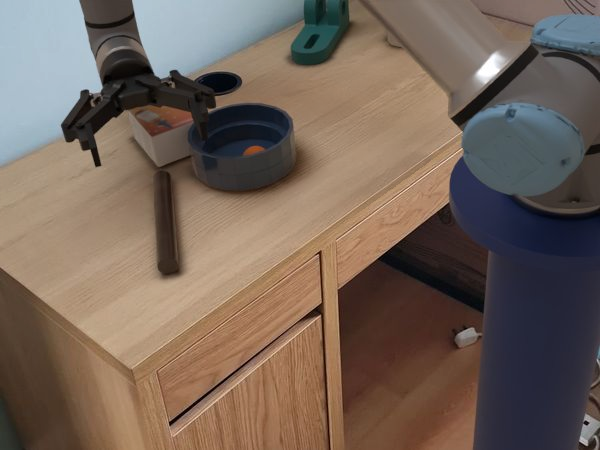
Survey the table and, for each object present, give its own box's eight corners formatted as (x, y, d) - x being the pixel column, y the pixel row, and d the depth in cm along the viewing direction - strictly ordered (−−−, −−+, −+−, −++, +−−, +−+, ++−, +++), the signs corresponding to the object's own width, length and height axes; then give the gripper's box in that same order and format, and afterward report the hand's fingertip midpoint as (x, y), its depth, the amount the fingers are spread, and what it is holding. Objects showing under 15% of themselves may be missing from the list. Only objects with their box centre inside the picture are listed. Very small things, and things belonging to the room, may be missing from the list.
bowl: (318, 161, 116) (315, 126, 112) (236, 207, 108) (230, 171, 105) (253, 126, 125) (249, 92, 121) (174, 166, 118) (167, 132, 114)
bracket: (316, 21, 155) (313, -18, 150) (349, 23, 153) (347, -17, 148) (286, 63, 141) (282, 22, 136) (322, 66, 139) (319, 24, 135)
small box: (173, 92, 125) (201, 118, 117) (179, 123, 128) (207, 150, 121) (125, 108, 122) (151, 136, 114) (133, 139, 125) (158, 168, 118)
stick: (165, 254, 97) (160, 167, 112) (153, 268, 97) (149, 179, 113) (182, 263, 98) (175, 175, 114) (170, 277, 99) (164, 188, 114)
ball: (245, 137, 112) (253, 153, 116) (234, 160, 111) (242, 176, 114) (270, 143, 111) (277, 159, 114) (259, 166, 109) (266, 181, 113)
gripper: (213, 77, 119) (250, 145, 102) (46, 115, 114) (57, 193, 97) (205, 30, 114) (243, 94, 98) (30, 68, 109) (40, 142, 93)
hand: (150, 144), depth 98 cm, fingers open, 13 cm apart
